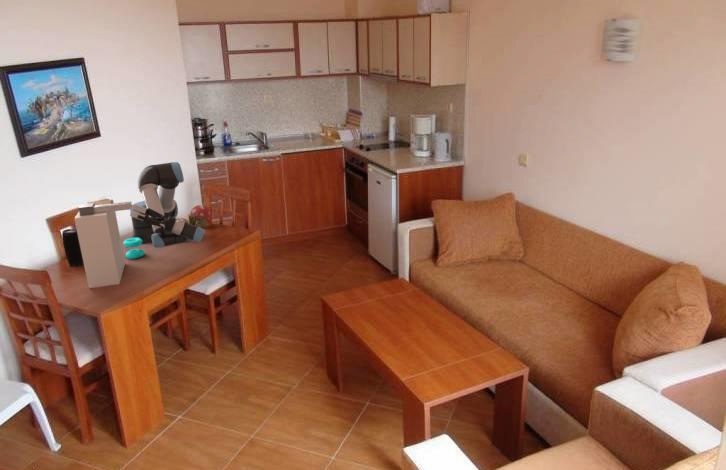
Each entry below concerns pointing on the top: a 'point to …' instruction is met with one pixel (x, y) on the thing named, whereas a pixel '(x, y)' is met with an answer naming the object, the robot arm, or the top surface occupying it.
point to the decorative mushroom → (201, 211)
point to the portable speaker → (72, 247)
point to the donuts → (134, 252)
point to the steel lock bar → (103, 208)
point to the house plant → (192, 220)
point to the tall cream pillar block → (100, 247)
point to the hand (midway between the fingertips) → (131, 209)
